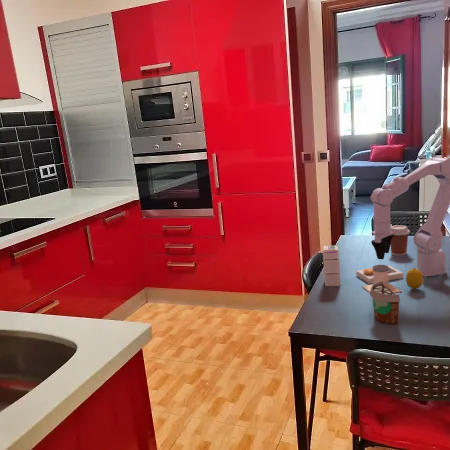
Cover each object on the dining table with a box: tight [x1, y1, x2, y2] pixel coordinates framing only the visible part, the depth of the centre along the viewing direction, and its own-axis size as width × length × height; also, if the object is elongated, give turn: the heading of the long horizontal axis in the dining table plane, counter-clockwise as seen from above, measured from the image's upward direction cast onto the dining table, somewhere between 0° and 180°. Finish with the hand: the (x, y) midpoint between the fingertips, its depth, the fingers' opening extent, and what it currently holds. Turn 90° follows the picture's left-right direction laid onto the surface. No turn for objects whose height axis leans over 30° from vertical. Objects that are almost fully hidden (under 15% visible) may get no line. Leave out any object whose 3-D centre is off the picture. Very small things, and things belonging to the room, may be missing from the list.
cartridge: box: [372, 264, 390, 288], centre depth 160 cm, size 5×5×8 cm
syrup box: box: [322, 244, 341, 287], centre depth 170 cm, size 6×6×14 cm
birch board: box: [361, 283, 403, 295], centre depth 161 cm, size 10×10×1 cm
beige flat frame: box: [355, 264, 404, 285], centre depth 173 cm, size 14×10×2 cm
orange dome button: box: [364, 268, 373, 275], centre depth 173 cm, size 4×4×3 cm
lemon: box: [405, 267, 424, 291], centre depth 157 cm, size 6×6×8 cm
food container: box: [369, 282, 401, 326], centre depth 138 cm, size 12×6×10 cm, turn 5°
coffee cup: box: [390, 224, 411, 256], centre depth 197 cm, size 9×9×12 cm
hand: (383, 255), depth 169 cm, fingers open, 7 cm apart
